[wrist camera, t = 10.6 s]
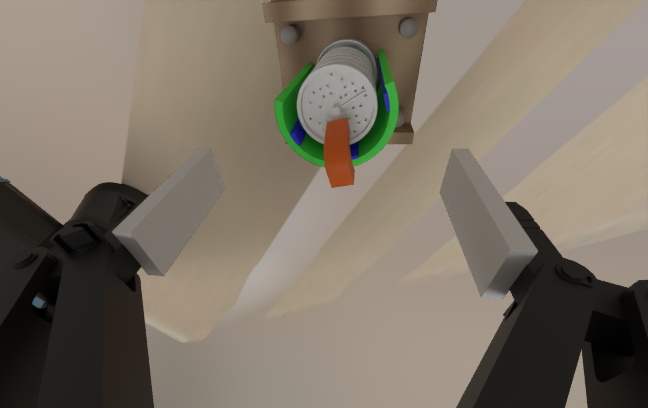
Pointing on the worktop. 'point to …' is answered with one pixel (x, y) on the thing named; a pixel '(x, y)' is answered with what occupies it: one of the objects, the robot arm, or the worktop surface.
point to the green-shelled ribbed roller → (339, 109)
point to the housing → (361, 23)
